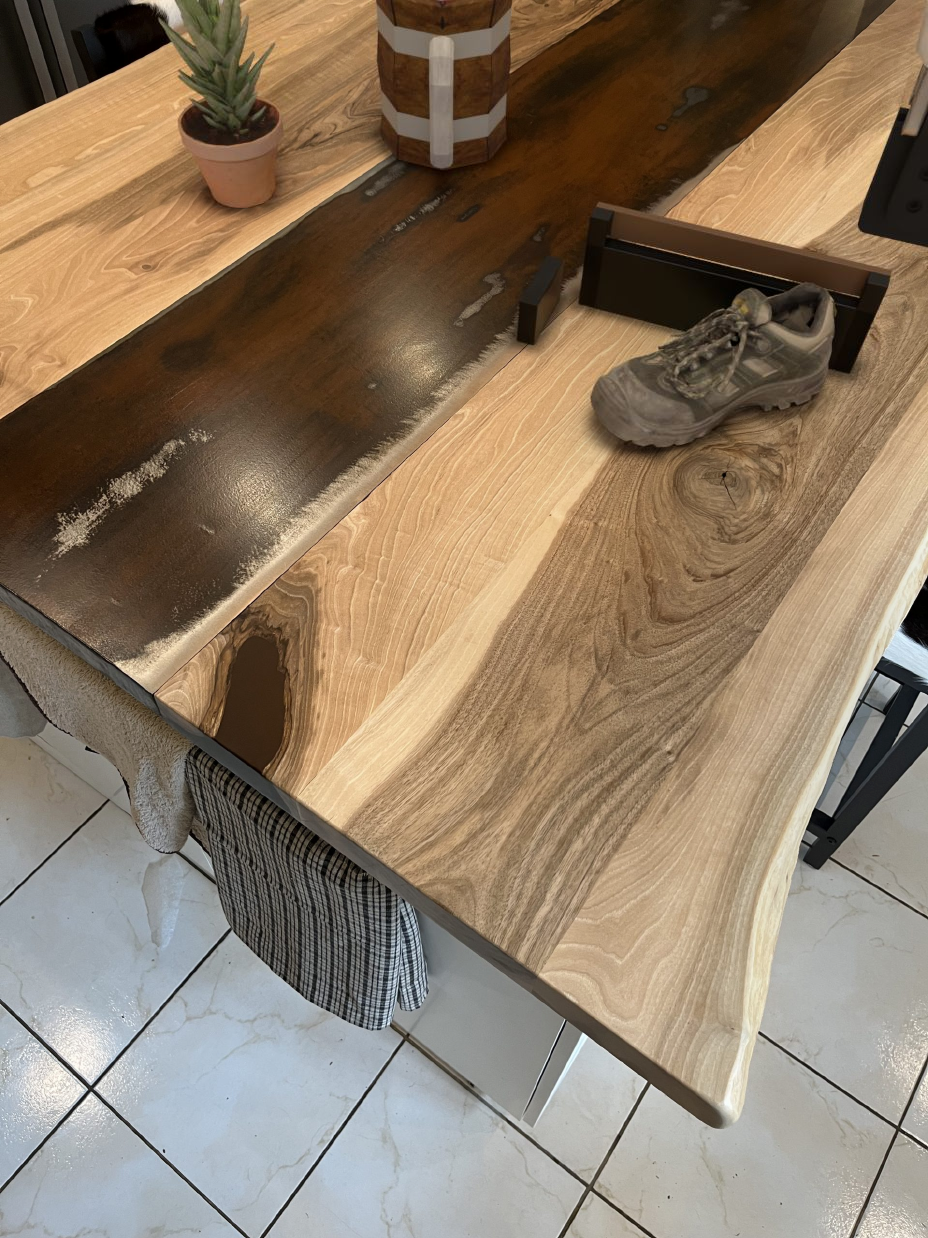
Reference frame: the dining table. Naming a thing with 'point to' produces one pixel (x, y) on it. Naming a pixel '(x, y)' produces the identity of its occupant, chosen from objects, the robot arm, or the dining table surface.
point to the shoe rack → (699, 277)
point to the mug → (444, 79)
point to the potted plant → (226, 105)
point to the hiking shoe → (722, 368)
